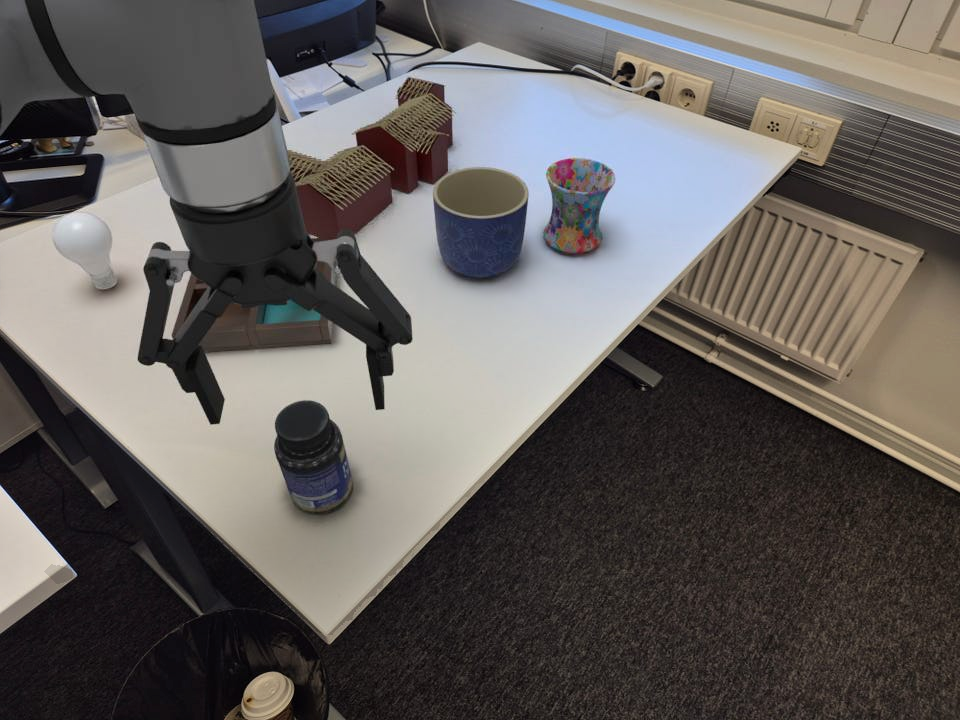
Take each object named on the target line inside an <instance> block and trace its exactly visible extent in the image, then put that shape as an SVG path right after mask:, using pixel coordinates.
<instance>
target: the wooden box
mask: <svg viewBox="0 0 960 720" xmlns="http://www.w3.org/2000/svg"><path fill="white" fill-rule="evenodd" d="M311 239H312V240H313V241H314V242H321V241H327V240H333V239H334V237H329V238H319V237H315V238H312V237H311ZM316 268H317V269H319V270H320V271H321V272H322V273H323V274H324V276H325V278H326V279H327V280H328V281H329V282H331V283H332V284H334V285H335V286H336V281H337V274H335V273H334V272H333V269H331V268H330V266H329V265H328V264H327V263H325V262H317V265H316ZM304 287H306V283H305V284H304ZM207 288H208V285H206V284H205V283H203V282H202V281H200V280H199V279H198V278H196V277H195V276H194V275H193V274H192V273H191V272H190V275H189V279H188V281H187V285H186V288H185V291H184V294H183V298H182V301H181V304H180V307H179V309H178V310H179V311H178V313H177V316H176V319H175V322H174V326H173V330H172V333H171V335H170V336H171V338H172V339H173V338H174V334H175V332H176V334H177V332H178V331H179V329H180V328H181V326H182V325H183V323H184V322H185V321H186V319H187V318H188V316H189V315H190V313H191V312H192V310H193V309H194V307H195V306H196V304H197V303H198V301H199V300H200V298H201V297H202V295H203V294H204V292H205V291H206V289H207ZM333 329H334V323H333V322H331V321H330V320H328V319H327V318H325V317H324V316H322V315H321V314H319V313H318V312H316V311H314V310H312V311H307V310H305V309H304V308H302V307H301V306H299V305H298V304H296V303H295V302H293V301H292V300H290V301H287V305H268V304H263V305H259V306H256V307H249V308H242V305H240V304H236V303H233V302H231V303H230V304H229V306H228V307H227V309H226V310H225V311H224V313H223V314H222V316H221V317H220V318H217V319H216V321H215V322H214V324H213V325H212V326H211V328H210V329H209V331H208V332H207V333H206V335H205V336H204V338H203V339H202V340H201V342H200V343H199V345H201V346H202V348H203V350H204V352H205V353H215V352H216V353H217V352H228V351H229V352H230V351H242V350H243V351H245V350H256V349H257V350H258V349H271V348H273V349H274V348H285V347H298V346H312V345H324V344H325V345H329V344H332V343H333ZM199 345H198V346H199Z"/></svg>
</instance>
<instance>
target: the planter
mask: <svg viewBox="0 0 960 720" xmlns="http://www.w3.org/2000/svg"><path fill="white" fill-rule="evenodd" d="M529 193H530V192H529V188H528V186H527V184H526V183H525V181H523V180H522V178H520V177H519V176H517V175H515V174H514V173H512V172H510V171H506V170H504V169H500V168H495V167H490V166H489V167H487V166H473V167H471V166H470V167H465V168H460V169H456V170H453V171H451V172H449V173H446V174H445V175H443V176H442V177H441V178H440V179H439V180H438V181H437V182H435V183H434V186H433V189H432V198H433V212H434V221H435V222H434V223H435V232H436V240H437V246H438V250H439V253H440V256H441V258H442V260H443V261H444V263H445V264H446V265H447V266H448V267H449V268H450V269H451V270H452V271H454V272H456V273H458V274H460V275H462V276H466V277H471V278H491V277H495V276H498V275H500V274H504V273H505V272H506V271H508V270H510V269H511V268H512V267H513V266H514V265H515V264H516V262H517V261H518V259H519V257H520V254H521V251H522V249H523V243H524V236H525V230H526V224H527V223H526V222H527V213H528V204H529V195H530V194H529Z"/></svg>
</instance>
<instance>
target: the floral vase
mask: <svg viewBox="0 0 960 720" xmlns="http://www.w3.org/2000/svg"><path fill="white" fill-rule="evenodd" d="M545 172H546V173H545V177H546V180H547V184H548V185H549V189H550V195H551V202H552V204H551V205H552V206H551V214H550V218H549V220H548V222H547V224H546V226H545V227H544V229H543V233H542V234H543V239H544V240H545V242H546V243H547V244H548V245H549V246H550V247H552V248H553V249H555V250H557V251H560V252H562V253H568V254H583V253H588V252H591V251H593V250H595V249H596V248H598V246H599V245H600V244H601V243H602V240H603V233H602V231H601V228H600V215H601V209H602V206H603V204H604V201H605V200H606V197H607V195H608V194H609V192H610V191H611V190H612V188H613V187H614V185H615V182H616V175H615V172H614V171H613V170H612V168H611V167H609V166H607V165H606V164H604V163H603V162H600V161H597V160H593V159H589V158H584V157H581V158H580V157H572V158H571V157H570V158H564V159H560V160H558V161H555V162H554V163H552V164H550V165H549V167H548V168H547V169H546V171H545Z"/></svg>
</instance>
